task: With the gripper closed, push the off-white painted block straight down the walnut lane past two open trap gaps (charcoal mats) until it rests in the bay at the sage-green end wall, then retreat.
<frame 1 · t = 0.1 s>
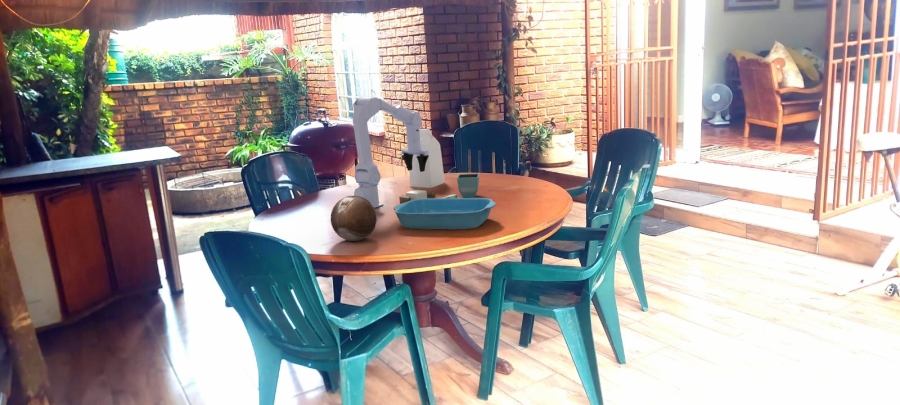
hand: (416, 170, 277), 10 cm above the table, tool pointing down, fingers open, 7 cm apart
casserole dish: (445, 224, 225), on the table
wooden sphere: (356, 240, 211), on the table
milk: (427, 184, 298), on the table
flower pot: (469, 197, 265), on the table
trap lane: (427, 203, 258), on the table
block: (417, 202, 262), on the table
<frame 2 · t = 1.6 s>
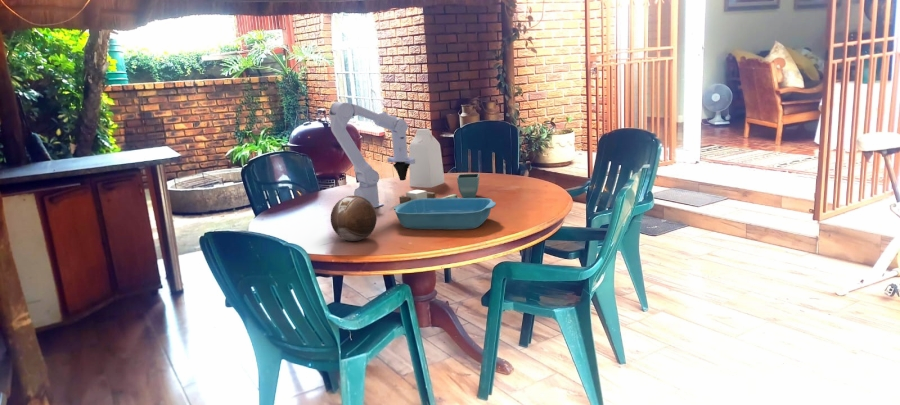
hand: (402, 180, 265), 9 cm above the table, tool pointing down, fingers closed
nothing on the table moved.
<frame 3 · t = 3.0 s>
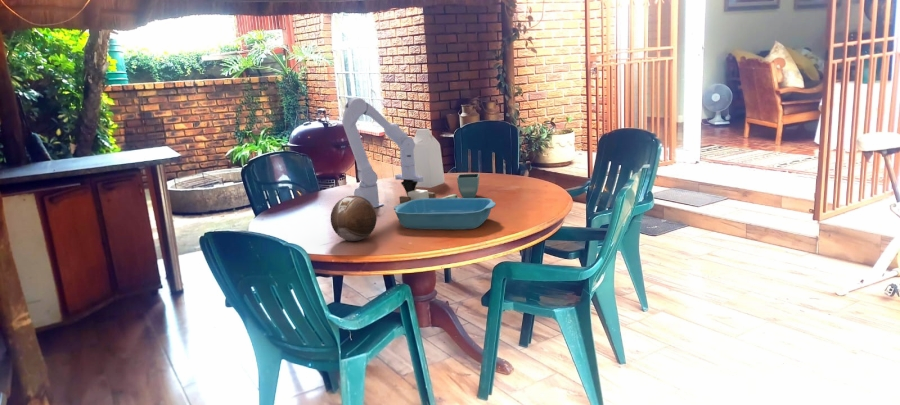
hand: (410, 197, 264), 1 cm above the table, tool pointing down, fingers closed
block: (418, 202, 262), on the table, touching gripper
everything else where it was.
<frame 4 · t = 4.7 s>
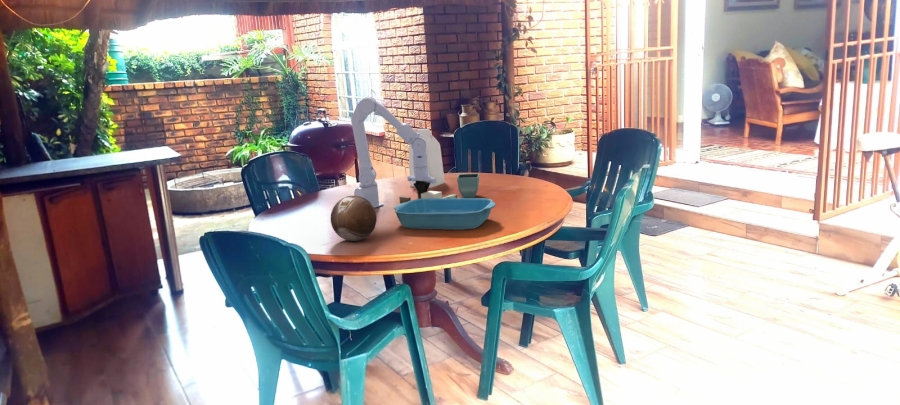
hand: (423, 199, 259), 1 cm above the table, tool pointing down, fingers closed
block: (432, 203, 257), on the table, touching gripper
everything else where it was.
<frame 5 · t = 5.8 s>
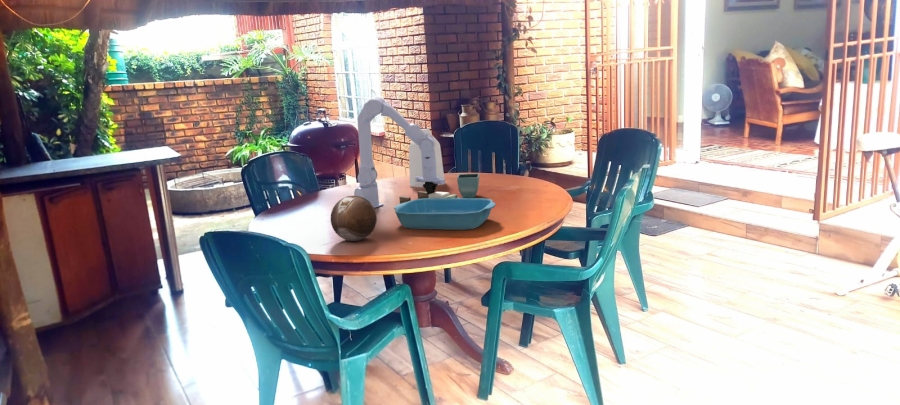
hand: (431, 200, 256), 1 cm above the table, tool pointing down, fingers closed
block: (439, 204, 254), on the table, touching gripper, trap lane
everything else where it was.
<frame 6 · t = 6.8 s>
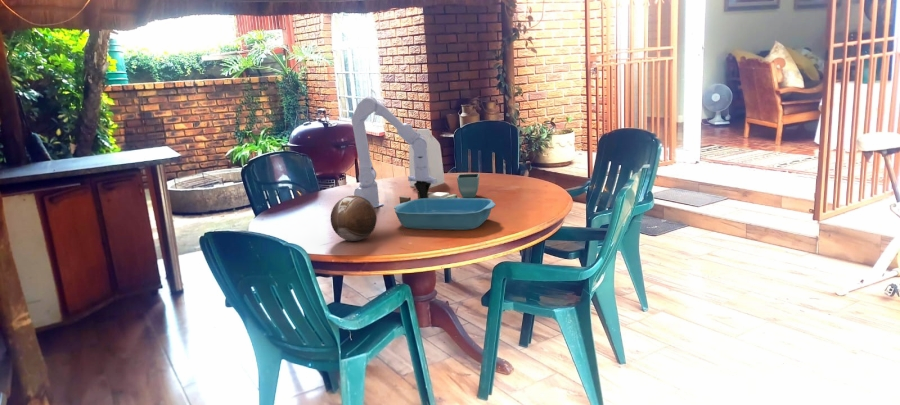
hand: (423, 199, 259), 1 cm above the table, tool pointing down, fingers closed
block: (439, 205, 255), on the table
everything else where it was.
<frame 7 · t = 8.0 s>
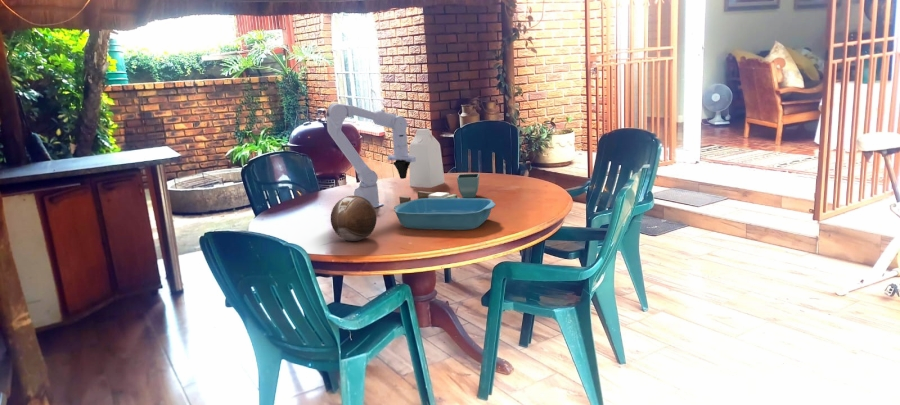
hand: (403, 178, 262), 10 cm above the table, tool pointing down, fingers closed
nothing on the table moved.
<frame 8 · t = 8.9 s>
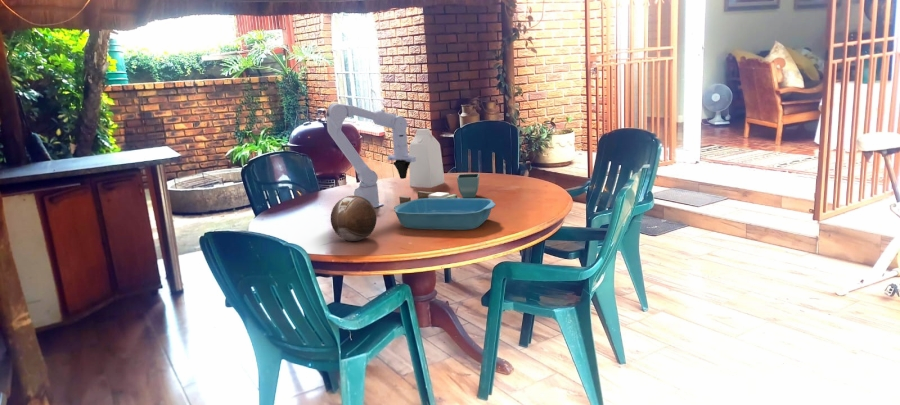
hand: (403, 178, 262), 10 cm above the table, tool pointing down, fingers closed
nothing on the table moved.
at the end: block inside the target area (0.5 cm from its centre), on the table; block tilted 0° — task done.
